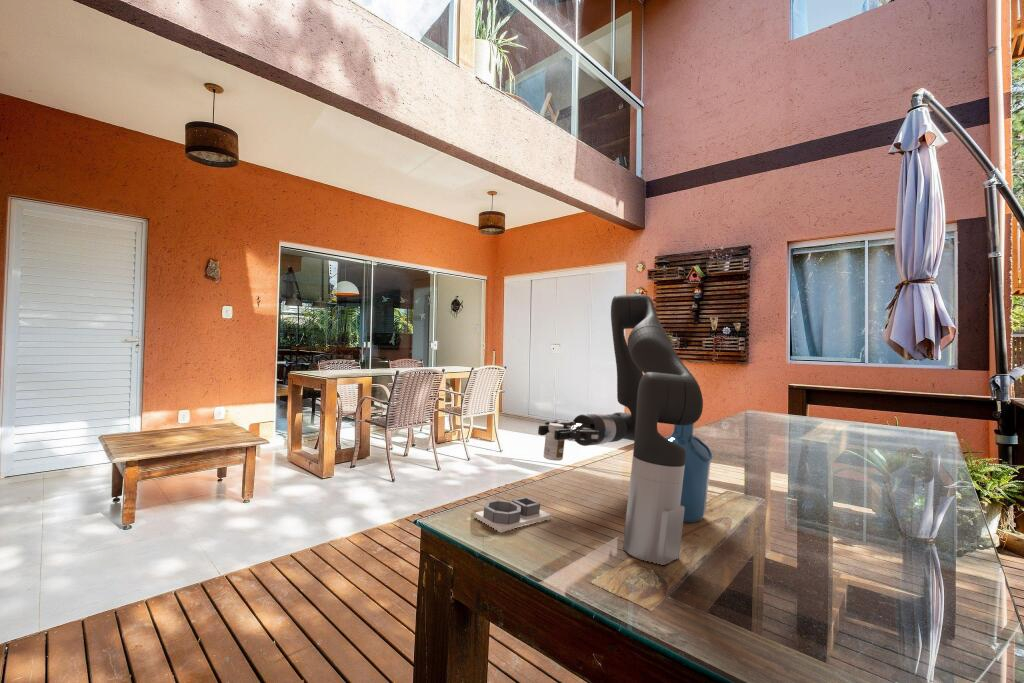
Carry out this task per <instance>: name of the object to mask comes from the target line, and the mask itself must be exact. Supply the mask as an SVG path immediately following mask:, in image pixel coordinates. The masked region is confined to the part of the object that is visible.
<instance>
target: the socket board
mask: <svg viewBox="0 0 1024 683" xmlns="http://www.w3.org/2000/svg"><path fill="white" fill-rule="evenodd" d="M474 517H475V519H476V518H477V519H476V520H478V521H479V520H480V521H479V522H481V521H482V522H481V523H483V524H484V523H485V524H484V525H486V524H487V525H486V526H488V525H489V526H488V527H490V528H491V527H492V529H493V528H494V529H493V530H495V531H496V530H497V532H498V533H500V534H502V533H505V531H506V532H508V531H507V530H510V529H513V528H515V527H518V526H521V525H524V524H528V523H533V522H539V521H543V522H545V521H544V520H547V521H550V520H551V519H552V515H551V514H550V513H549V512H547V511H544V510H542V509H541V502H539V501H538V500H535V499H533V498H531V497H529V496H521V497H516V498H513V499H512V500H503V499H493V500H488V501H485V504H484V508H483V510H480V511H477V512H474ZM513 530H514V529H513ZM510 531H511V530H510Z"/></svg>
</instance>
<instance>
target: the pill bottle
mask: <svg viewBox="0 0 1024 683" xmlns="http://www.w3.org/2000/svg"><path fill="white" fill-rule="evenodd" d="M557 429H564V425H562V424H557V423H550V424H549V427H548V430H549V432H548V433H547V434H546V435H545V437H544V438H545V440H544V446H543V447H544V449H543V458H544V459H546V460H549V461H557V462H558V461H560V462H561V461H562V460H563V458H564V450H565V449H564V448H565V443H566V442H565V440H555V439H554V435H555V430H557Z"/></svg>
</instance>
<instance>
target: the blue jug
mask: <svg viewBox="0 0 1024 683" xmlns="http://www.w3.org/2000/svg"><path fill="white" fill-rule="evenodd" d="M694 426H695V423H693V424H691V425H673V432H672V433H671V434H670V435H667V436H663V437H664V438H666V439H668V440H669V441H672V442H674V443H676V444H678V445H680V446H681V447H683V448H684V449H685V451H686V460H685V468H684V477H683V485H682V494H681V504H680V505H682V506H684V508H685V511H684V520H683V521H684V522H683V523H695V522H696V523H697V522H698V523H699V522H701V520H702V519H703V518H704V516H705V515H706V509H707V508H706V507H707V500H708V499H707V498H708V490H709V480H710V472H711V463H712V462H711V461H712V459H713V453H712V452H711V450H710V449H711V448H710V447H709V446H708V445H707V444H706V443H704V442H703V441H702V440H701V439H700V438H699V437H697V436H696V435H695V436H694Z"/></svg>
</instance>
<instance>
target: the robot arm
mask: <svg viewBox="0 0 1024 683" xmlns="http://www.w3.org/2000/svg"><path fill="white" fill-rule="evenodd" d="M610 322H611V332H612V341H613V342H612V343H613V349H614V350H613V351H614V357H615V366H616V392H617V393H616V398H617V402H618V403H619V404H620V405H621V406H624V407H626V408H627V409H628V410H629V412H630V413H629V412H614V413H611V414H602V413H589V414H588V413H587V414H578V415H576V417H575V418H574V419H573V420H567V421H559V420H558V419H554V420H549V421H545V422H544V424H540V425H539V426H538V430H537V431H538V432H537V434H538V435H540V436H546V434H547V433H548V432H549V430H548V427H549V424H550V423H557V424H562V425H564V429H557V430H555V435H554V439H555V440H567V441H569V442H571V441H573V442H575V443H577V444H578V445H580V446H583V447H589V446H596V445H603V444H606V443H614V442H618V441H621V440H623V439H624V440H629V441H633V451H632V461H631V471H630V476H629V477H630V479H629V486H628V487H629V488H628V494H627V504H626V505H627V506H626V514H625V524H624V533H623V540H622V541H623V543H622V548H623V549H624V551H625V552H626V553H627V554H628V555H630V556H632V557H634V558H636V559H639V560H641V561H643V560H644V561H643V562H647V561H649V562H648V563H651V562H653V563H652V564H656V563H657V564H656V565H659V564H661V565H665V564H667V563H669V562H671V561H673V560H675V561H677V560H678V558H679V559H680V557H681V556H680V554H681V547H682V539H683V538H682V536H683V528H684V527H683V526H684V522H683V520H684V511H685V508H684V506H682V505H680V504H681V494H682V485H683V477H684V468H685V460H686V451H685V449H684V448H683V447H681V446H680V445H678V444H676V443H674V442H672V441H669V440H668V439H666V438H664V437H665V436H663V435H662V434H661V433H660V432H659V431H658V423H659V424H666V425H673V426H674V425H691V424H693V423H694V424H695V423H696V422H698V421H699V419H700V417H701V416H702V414H703V408H704V399H703V393H702V390H701V387H700V385H699V383H698V381H697V379H696V378H695V376H694V375H693V374H692V373H691V371H690V370H689V369H688V368H687V366H686V364H684V363H683V362H682V359H680V357H679V355H678V353H677V352H676V350H675V348H674V346H673V344H672V341H671V340H670V338H669V336H668V333H667V332H666V331H665V329H664V326H662V322H661V321H660V319H659V316H658V312H657V310H656V307H655V304H654V301H653V299H652V298H651V297H650V296H649V295H647V294H642V293H641V294H636V293H635V294H615V295H614V296H613V298H612V299H611V305H610ZM627 329H628V330H629V329H630V330H631V329H632V330H631V331H630V333H629V335H628V337H627V341H626V336H625V330H627ZM676 559H677V560H676ZM673 562H674V561H673ZM671 563H672V562H671ZM669 564H670V563H669ZM661 565H660V566H661ZM667 565H668V564H667ZM665 566H666V565H665Z"/></svg>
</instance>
